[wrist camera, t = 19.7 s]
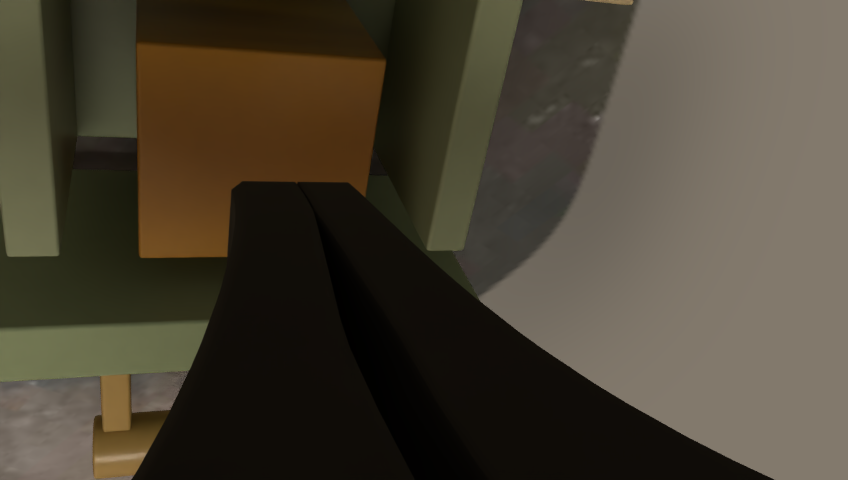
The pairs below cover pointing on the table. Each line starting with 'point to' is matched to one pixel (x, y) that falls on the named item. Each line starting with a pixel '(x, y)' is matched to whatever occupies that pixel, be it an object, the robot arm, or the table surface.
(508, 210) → the table surface
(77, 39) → the drawer
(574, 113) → the table surface
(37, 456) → the table surface
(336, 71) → the block
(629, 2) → the cabinet
